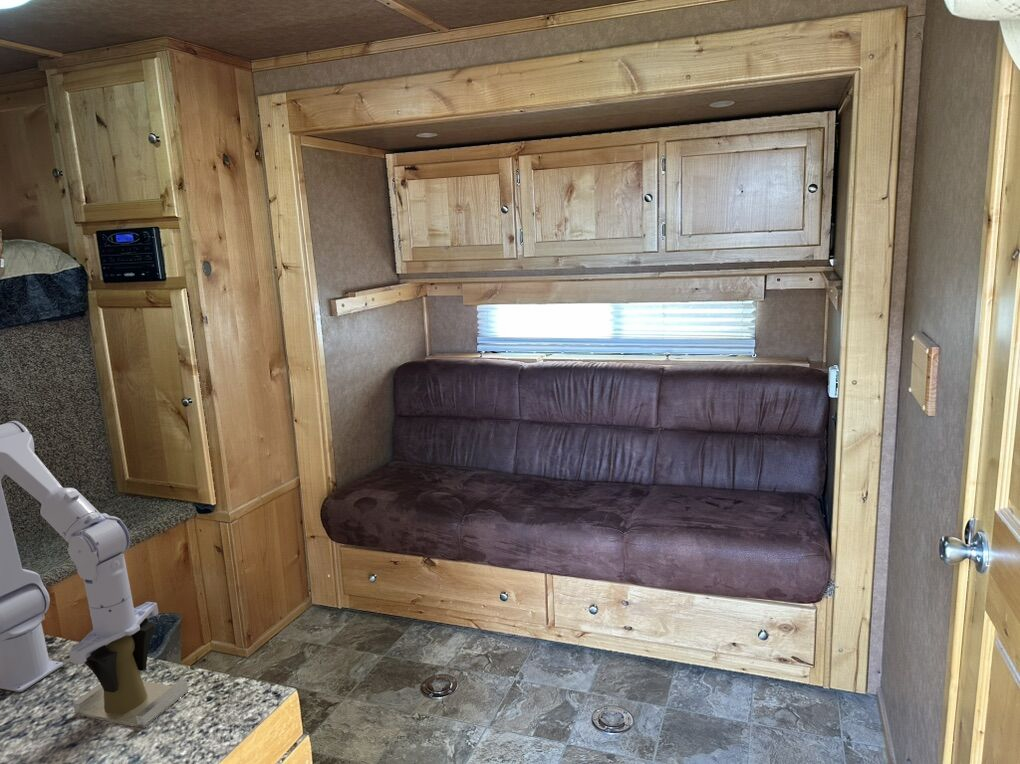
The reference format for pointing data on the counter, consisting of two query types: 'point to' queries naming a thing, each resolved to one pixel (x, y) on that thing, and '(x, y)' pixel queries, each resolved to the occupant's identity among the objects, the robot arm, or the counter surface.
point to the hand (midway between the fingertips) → (125, 679)
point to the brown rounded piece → (125, 679)
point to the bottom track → (140, 716)
